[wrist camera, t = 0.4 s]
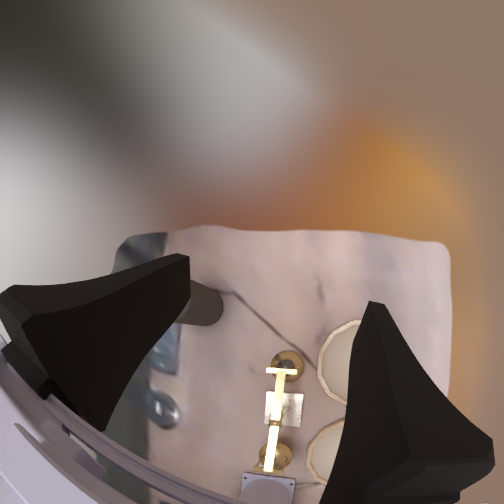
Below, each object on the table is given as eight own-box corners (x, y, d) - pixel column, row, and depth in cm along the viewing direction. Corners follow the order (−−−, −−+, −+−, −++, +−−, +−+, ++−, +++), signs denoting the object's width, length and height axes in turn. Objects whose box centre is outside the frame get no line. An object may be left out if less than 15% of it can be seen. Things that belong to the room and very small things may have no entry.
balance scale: (295, 460, 31) (286, 487, 23) (261, 456, 32) (245, 481, 24) (307, 351, 36) (302, 356, 28) (271, 349, 37) (256, 353, 29)
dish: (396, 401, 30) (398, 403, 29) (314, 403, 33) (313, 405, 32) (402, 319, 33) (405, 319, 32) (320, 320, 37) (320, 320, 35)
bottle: (229, 295, 41) (179, 272, 27) (215, 331, 40) (160, 327, 26) (196, 283, 43) (138, 257, 29) (183, 318, 42) (121, 306, 28)
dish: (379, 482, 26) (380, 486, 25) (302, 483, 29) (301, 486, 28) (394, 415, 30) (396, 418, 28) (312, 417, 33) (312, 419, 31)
